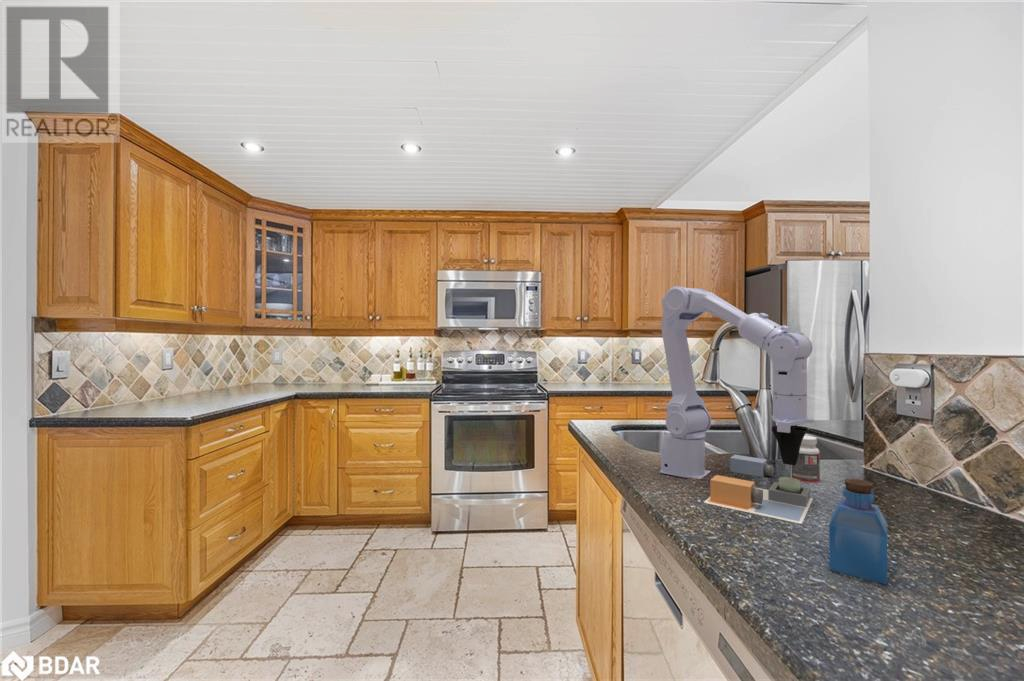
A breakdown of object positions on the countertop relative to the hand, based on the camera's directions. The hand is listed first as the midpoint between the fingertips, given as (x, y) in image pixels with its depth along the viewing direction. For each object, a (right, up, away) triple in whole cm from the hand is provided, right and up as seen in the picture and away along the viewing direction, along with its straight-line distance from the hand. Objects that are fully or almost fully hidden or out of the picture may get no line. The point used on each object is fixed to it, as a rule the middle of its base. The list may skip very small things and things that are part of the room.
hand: (789, 463), depth 89 cm
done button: (0, -5, 0) cm, 5 cm away
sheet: (-6, -8, -1) cm, 10 cm away
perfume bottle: (-6, -8, -25) cm, 27 cm away
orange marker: (-12, -7, -1) cm, 14 cm away
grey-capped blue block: (+1, -8, +18) cm, 20 cm away
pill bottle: (+11, -8, +13) cm, 19 cm away
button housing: (0, -7, 0) cm, 7 cm away
